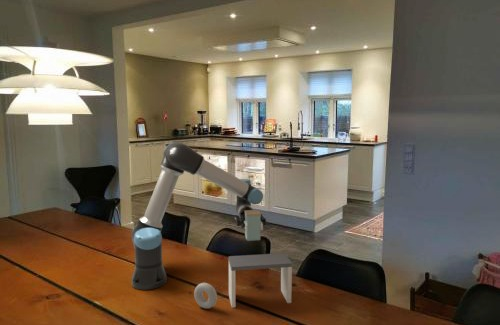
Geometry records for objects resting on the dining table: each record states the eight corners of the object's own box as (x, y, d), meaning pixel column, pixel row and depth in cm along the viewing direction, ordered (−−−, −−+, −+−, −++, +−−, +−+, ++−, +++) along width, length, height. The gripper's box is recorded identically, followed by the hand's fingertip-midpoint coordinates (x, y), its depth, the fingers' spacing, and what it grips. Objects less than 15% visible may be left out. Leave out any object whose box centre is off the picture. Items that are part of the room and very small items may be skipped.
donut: (218, 308, 139) (218, 284, 138) (214, 313, 136) (213, 288, 135) (197, 302, 144) (197, 278, 143) (192, 306, 141) (192, 282, 140)
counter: (231, 307, 140) (231, 267, 138) (228, 294, 151) (228, 256, 149) (291, 302, 144) (292, 263, 142) (284, 289, 155) (284, 253, 153)
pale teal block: (246, 240, 159) (246, 214, 158) (244, 236, 166) (244, 210, 164) (260, 240, 160) (261, 213, 159) (258, 235, 167) (258, 209, 165)
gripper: (265, 220, 182) (275, 234, 159) (227, 222, 179) (233, 237, 156) (265, 205, 181) (275, 218, 158) (227, 207, 178) (232, 220, 155)
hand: (254, 227), depth 157 cm, fingers closed on pale teal block, 6 cm apart
